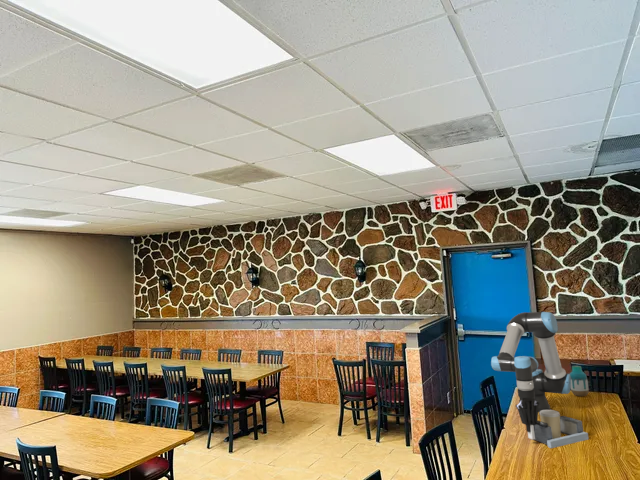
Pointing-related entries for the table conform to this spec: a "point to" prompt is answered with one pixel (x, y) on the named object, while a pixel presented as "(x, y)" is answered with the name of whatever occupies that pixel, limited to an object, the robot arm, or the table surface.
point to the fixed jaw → (570, 425)
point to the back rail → (567, 440)
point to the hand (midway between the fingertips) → (531, 438)
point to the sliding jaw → (542, 432)
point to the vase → (579, 381)
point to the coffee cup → (552, 421)
